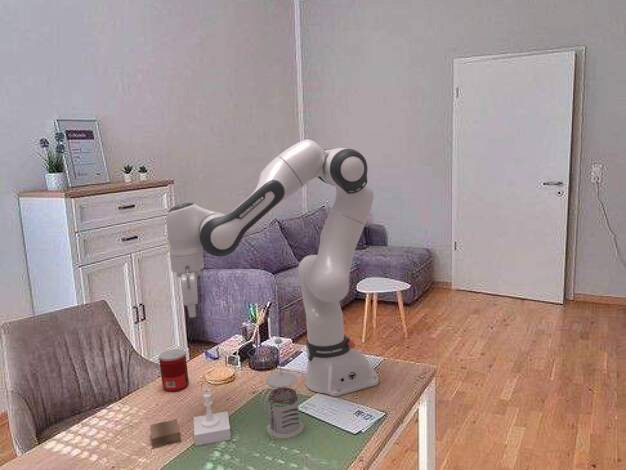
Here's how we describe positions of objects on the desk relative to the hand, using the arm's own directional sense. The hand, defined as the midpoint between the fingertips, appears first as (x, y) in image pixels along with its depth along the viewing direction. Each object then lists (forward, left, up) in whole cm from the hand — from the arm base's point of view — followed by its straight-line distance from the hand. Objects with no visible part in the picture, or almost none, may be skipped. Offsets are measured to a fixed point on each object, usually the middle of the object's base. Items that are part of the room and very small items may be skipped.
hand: (192, 311), depth 147 cm
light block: (-2, +15, -29) cm, 33 cm away
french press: (-20, +19, -29) cm, 40 cm away
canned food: (+8, -16, -29) cm, 34 cm away
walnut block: (+10, +13, -30) cm, 34 cm away
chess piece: (-2, +15, -26) cm, 30 cm away
